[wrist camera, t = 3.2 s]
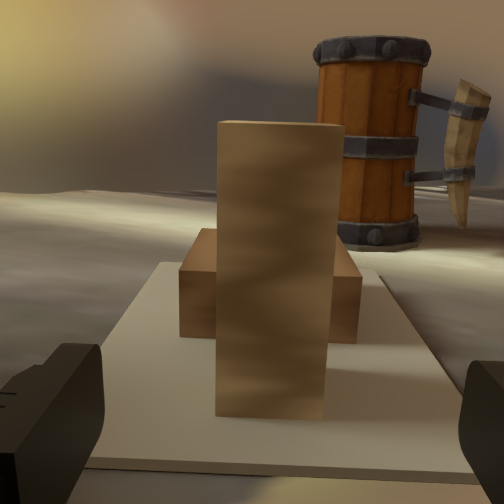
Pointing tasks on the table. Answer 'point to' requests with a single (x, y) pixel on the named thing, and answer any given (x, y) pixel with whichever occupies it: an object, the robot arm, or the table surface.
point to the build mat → (279, 430)
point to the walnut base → (204, 292)
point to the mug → (391, 136)
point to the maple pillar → (275, 266)
